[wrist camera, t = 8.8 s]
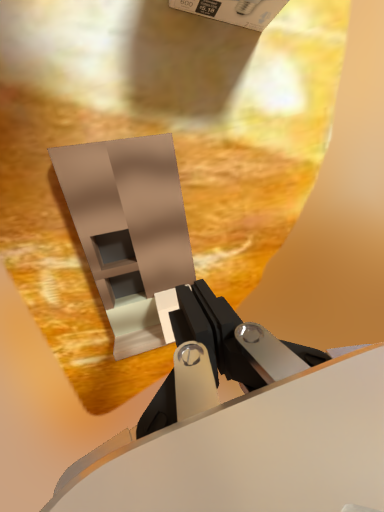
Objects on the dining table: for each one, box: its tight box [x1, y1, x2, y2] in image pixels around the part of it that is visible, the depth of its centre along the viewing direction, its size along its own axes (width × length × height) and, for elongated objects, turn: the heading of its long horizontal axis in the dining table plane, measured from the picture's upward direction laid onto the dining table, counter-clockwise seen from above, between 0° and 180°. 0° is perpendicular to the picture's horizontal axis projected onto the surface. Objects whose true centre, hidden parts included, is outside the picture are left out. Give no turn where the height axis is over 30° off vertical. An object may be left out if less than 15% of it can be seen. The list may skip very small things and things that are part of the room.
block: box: [154, 284, 192, 344], centre depth 25 cm, size 4×4×4 cm
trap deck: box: [47, 133, 196, 361], centre depth 24 cm, size 22×12×6 cm, turn 10°
